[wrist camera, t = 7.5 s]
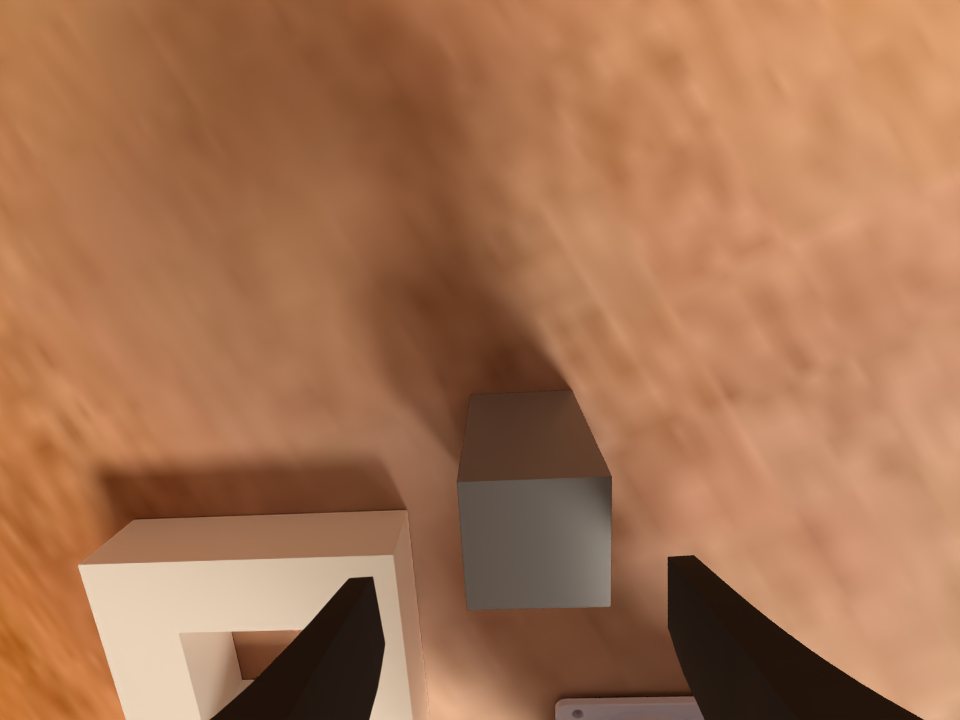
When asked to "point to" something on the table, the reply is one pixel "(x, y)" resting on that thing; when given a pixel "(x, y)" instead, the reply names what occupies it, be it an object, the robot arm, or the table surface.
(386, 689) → the socket plate
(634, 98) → the table surface
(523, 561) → the plug
